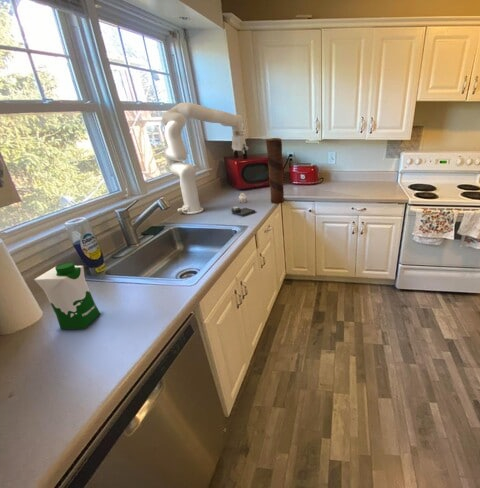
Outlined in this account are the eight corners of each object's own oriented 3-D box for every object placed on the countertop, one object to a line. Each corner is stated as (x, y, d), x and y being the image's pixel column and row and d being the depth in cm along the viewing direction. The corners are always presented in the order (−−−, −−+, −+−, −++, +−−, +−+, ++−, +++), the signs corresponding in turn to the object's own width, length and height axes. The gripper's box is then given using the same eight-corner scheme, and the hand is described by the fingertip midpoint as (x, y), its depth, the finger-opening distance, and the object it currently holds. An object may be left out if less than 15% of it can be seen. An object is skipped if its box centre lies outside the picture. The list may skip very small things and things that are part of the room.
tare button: (235, 210, 181) (235, 208, 181) (232, 209, 183) (232, 207, 182) (239, 209, 184) (238, 207, 183) (236, 208, 185) (235, 206, 184)
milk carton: (86, 330, 84) (60, 273, 76) (54, 331, 83) (25, 274, 75) (105, 312, 92) (84, 258, 83) (76, 312, 91) (52, 258, 83)
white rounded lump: (239, 201, 210) (238, 192, 207) (248, 201, 211) (247, 192, 208) (238, 203, 205) (237, 194, 202) (246, 203, 205) (245, 194, 202)
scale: (241, 217, 178) (241, 212, 177) (230, 213, 184) (229, 209, 182) (255, 212, 187) (255, 207, 186) (244, 209, 193) (243, 204, 191)
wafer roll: (281, 204, 204) (277, 139, 185) (268, 203, 207) (263, 138, 188) (287, 200, 213) (284, 137, 194) (274, 199, 216) (270, 137, 197)
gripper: (225, 133, 201) (229, 158, 208) (242, 134, 192) (245, 160, 199) (234, 133, 206) (237, 157, 214) (250, 134, 198) (252, 159, 205)
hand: (240, 158), depth 206 cm, fingers open, 9 cm apart
